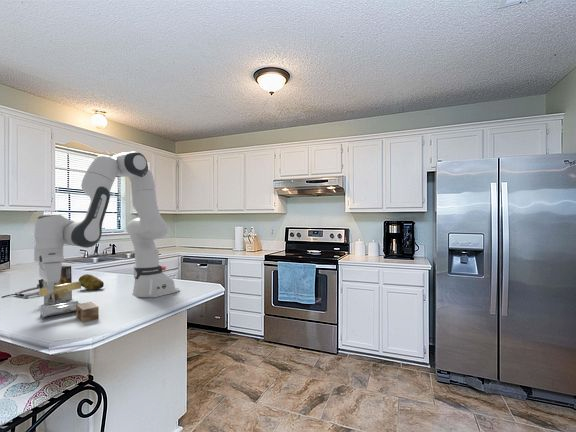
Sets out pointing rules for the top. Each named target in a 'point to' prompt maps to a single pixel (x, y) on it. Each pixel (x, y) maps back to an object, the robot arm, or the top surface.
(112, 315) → the top surface
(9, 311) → the top surface
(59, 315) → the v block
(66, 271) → the coffee box
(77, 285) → the axle
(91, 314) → the slotted wooden block
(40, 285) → the bike brake
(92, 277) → the potato
